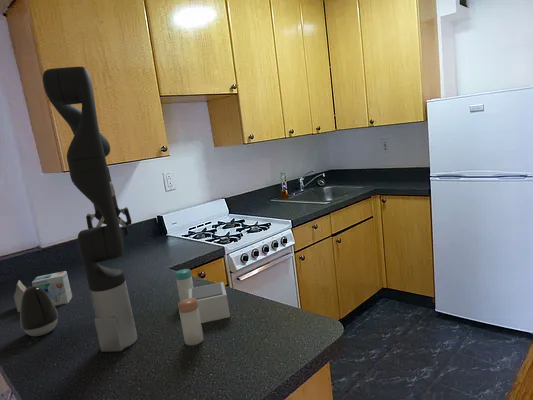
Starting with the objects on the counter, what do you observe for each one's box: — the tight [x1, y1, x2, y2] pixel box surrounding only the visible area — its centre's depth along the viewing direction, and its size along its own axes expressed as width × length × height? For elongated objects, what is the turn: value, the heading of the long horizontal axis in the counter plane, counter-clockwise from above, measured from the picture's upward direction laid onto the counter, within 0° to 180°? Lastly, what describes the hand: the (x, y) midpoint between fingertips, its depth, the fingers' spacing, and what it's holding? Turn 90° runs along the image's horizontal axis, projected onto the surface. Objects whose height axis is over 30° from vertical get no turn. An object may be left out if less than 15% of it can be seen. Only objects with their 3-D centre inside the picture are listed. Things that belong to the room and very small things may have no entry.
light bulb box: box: [31, 270, 73, 307], centre depth 146 cm, size 11×7×11 cm, turn 105°
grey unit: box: [189, 281, 231, 324], centre depth 119 cm, size 11×11×7 cm
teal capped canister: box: [174, 268, 195, 302], centre depth 128 cm, size 5×5×11 cm
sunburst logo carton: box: [13, 280, 27, 313], centre depth 146 cm, size 4×7×10 cm, turn 27°
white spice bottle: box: [177, 298, 205, 346], centre depth 103 cm, size 5×5×11 cm
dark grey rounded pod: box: [19, 285, 59, 337], centre depth 122 cm, size 10×10×15 cm
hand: (113, 238), depth 139 cm, fingers open, 8 cm apart
